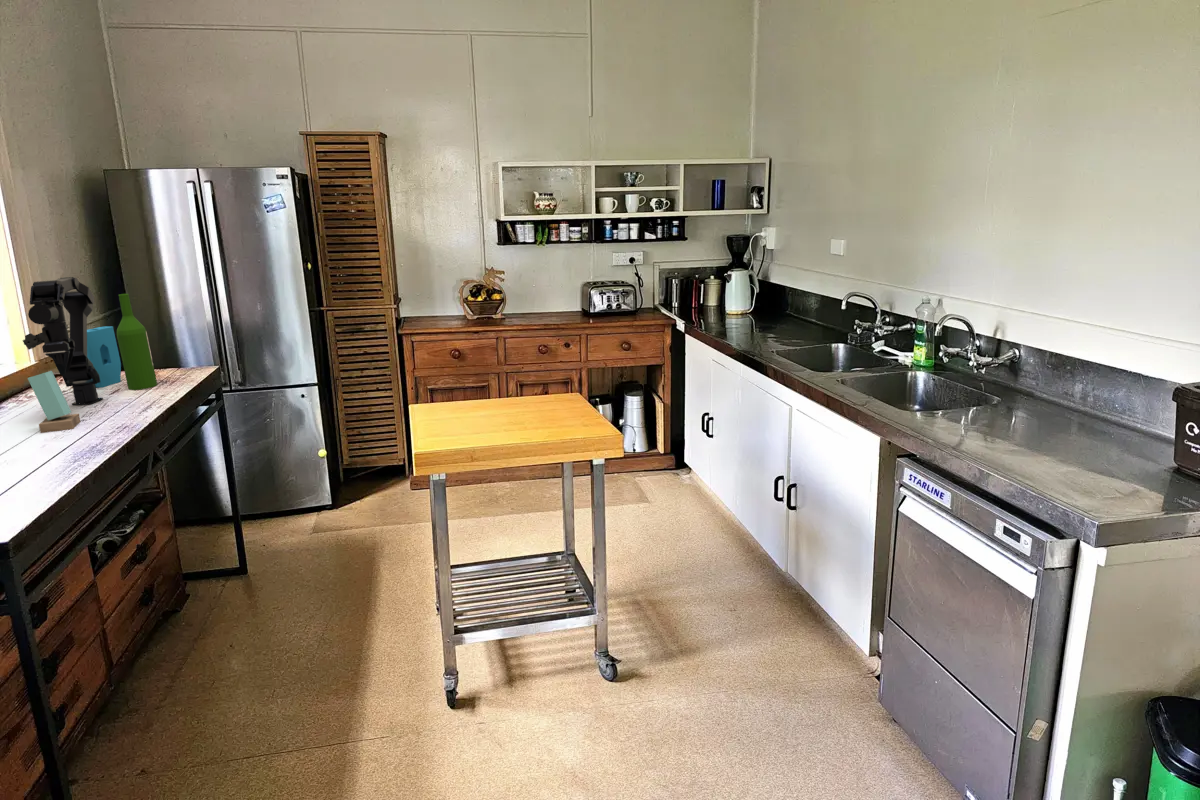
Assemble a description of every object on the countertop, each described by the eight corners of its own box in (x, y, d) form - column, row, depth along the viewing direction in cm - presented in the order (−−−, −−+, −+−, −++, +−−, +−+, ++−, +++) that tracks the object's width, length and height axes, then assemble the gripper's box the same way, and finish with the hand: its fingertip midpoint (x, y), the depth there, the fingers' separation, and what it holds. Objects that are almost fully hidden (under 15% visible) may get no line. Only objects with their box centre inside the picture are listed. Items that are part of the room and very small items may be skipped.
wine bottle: (162, 385, 271) (143, 292, 262) (136, 391, 264) (116, 296, 255) (149, 382, 276) (130, 291, 267) (123, 388, 269) (102, 295, 260)
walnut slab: (49, 427, 227) (47, 417, 226) (81, 423, 230) (78, 413, 229) (41, 434, 220) (38, 424, 219) (73, 430, 222) (71, 420, 221)
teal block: (55, 417, 226) (35, 375, 223) (71, 412, 226) (51, 370, 223) (48, 420, 221) (27, 378, 218) (64, 415, 222) (44, 372, 219)
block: (97, 389, 270) (84, 332, 265) (86, 388, 271) (73, 332, 266) (126, 380, 281) (114, 326, 276) (115, 380, 282) (103, 326, 277)
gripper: (27, 324, 237) (37, 374, 240) (16, 326, 221) (27, 380, 224) (70, 320, 243) (79, 369, 245) (62, 322, 226) (73, 375, 229)
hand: (64, 373), depth 236 cm, fingers open, 9 cm apart
